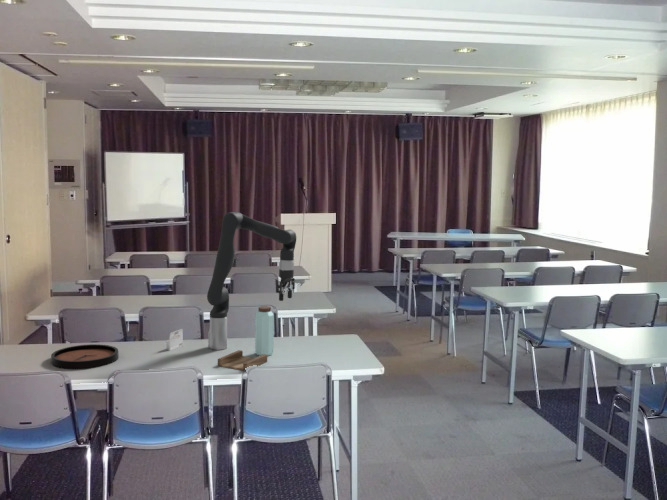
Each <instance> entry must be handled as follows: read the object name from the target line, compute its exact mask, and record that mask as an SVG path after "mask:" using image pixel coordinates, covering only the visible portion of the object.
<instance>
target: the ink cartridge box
mask: <svg viewBox="0 0 667 500" xmlns="http://www.w3.org/2000/svg"><path fill="white" fill-rule="evenodd" d="M183 330H184V329H183V328H181V329H177V330H174V331H172V332H169V339H168V340H166V341H165V342H166V351H172V350H175V349H178V348H180V347H181V348H182V347H183V346H184V340H183V339H184V338H183V333H184V331H183Z"/></svg>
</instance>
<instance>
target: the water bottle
mask: <svg viewBox="0 0 667 500" xmlns="http://www.w3.org/2000/svg"><path fill="white" fill-rule="evenodd" d="M271 308H272V307H271V306H267V305H266V306H265V305H264V306H258V308H257V309H258V310H257V311H256V313H255V319H254V320H255V325H254V326H255V329H254V330H255V337H254V339H255V340H254V341H255V343H254V345H255V346H254V347H255V348H254V349H255V351H254V352H255V354H256V355H257V356H261V355H263V354H265V355H267V357H269V356H271V355H273V354H274V342H275V341H274V335H275V334H274V332H275V329H274V328H275V327H274V326H275V320H274V319H275V317H274V316H275V315H274V313H273V312H272V309H271Z"/></svg>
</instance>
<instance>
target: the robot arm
mask: <svg viewBox="0 0 667 500" xmlns="http://www.w3.org/2000/svg"><path fill="white" fill-rule="evenodd" d="M238 229H239V230H240V229H241V230H248V231H250V232H252V233H255V234H257V235H259V236H261V237H263V238H267V239H270V240H273V241H275V242H277V243H280V244H282V248H281V249H280V252H279V264H278V265H279V268H278V277H279V278H280V280H277V281H276V293H277V294H278V300H279V301H280V302H283V301H284V295H285V293H284V292H285V291H286V290H287V298H288V299H292V298H293V291H294V290H295V289H296V280H295V278H294V277H295V275H294V274H295V271H294V269H295V263H294V262H295V259H294V258H295V248H296V245H297V234H296V232H295V231H294V230H293V229H282V228H279V227H278V226H277V225H272V224H269V223H267V222H263V221H259V220H256V219H254V218H251V217H249V216H248V215H245V214H242V213H241V212H239V211H230V212H227V213H225V214H224V216H223V218H222V221H221V229H220V230H221V231H220V239H219V244H218V249H217V254H216V256H215V257H216V258H215V264H214V266H213V268H214V269H213V273H212V277H211V280H210V284H209V287H208V291H207V295H206V298H207V302H208V304H209V305H210V306H213V307H212V308H211V310H210V311H209V330H208V332H207V333H208V336H207V337H208V338H207V339H208V341H207V344H208V345H207V348H208V349H211V350H218V351H219V350H225V349H227V348H228V312H229V307H230V293H229V291H228V289H227V288H226V287H225V286H224V284H225V281H226V279H227V277H228V276H229V274H230V272H231V270H232V268H233V265H234V261H235V253H236V252H235V245H234V238H235V233H236V231H237V230H238Z"/></svg>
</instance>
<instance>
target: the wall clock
mask: <svg viewBox="0 0 667 500" xmlns="http://www.w3.org/2000/svg"><path fill="white" fill-rule="evenodd" d="M119 357H120V356H119V349H118V348H117V347H116V346H112V345H107V344H99V343H96V344H93V343H92V344H80V345H73V346H68V347H63V348H60V349H58V350H56V351H53V352H52V353H51V354H50V364H51V365H52V366H53V367H55V368H58V369H64V370H65V369H66V370H86V369H88V370H89V369H95V368H99V367H105V366H108V365H110V364H113V363H115V362H117V361H118V360H119Z"/></svg>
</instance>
